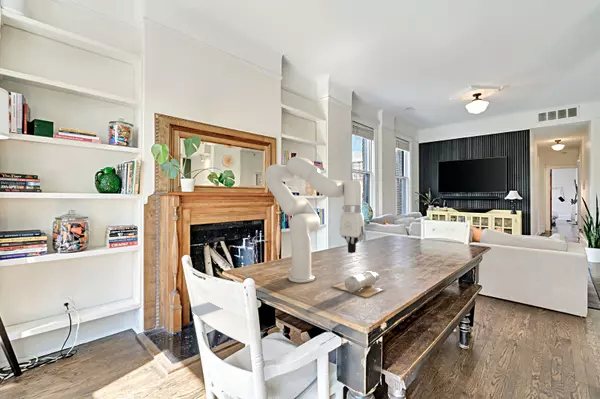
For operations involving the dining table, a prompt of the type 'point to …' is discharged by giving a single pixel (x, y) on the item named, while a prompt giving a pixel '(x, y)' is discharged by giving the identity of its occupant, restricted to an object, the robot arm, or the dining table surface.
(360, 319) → the dining table surface
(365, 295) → the cork mat
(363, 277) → the plastic bottle
